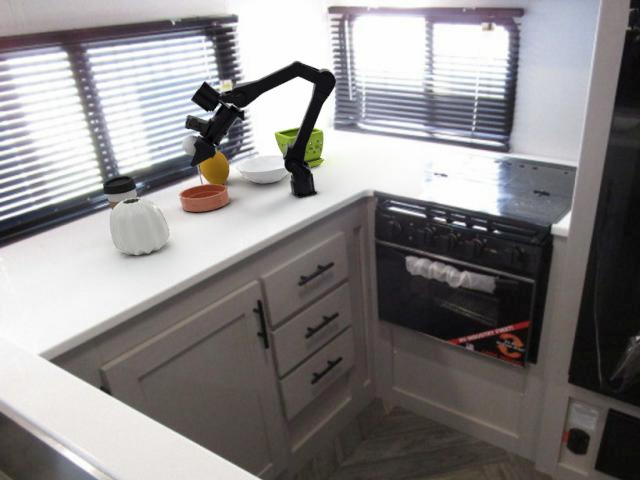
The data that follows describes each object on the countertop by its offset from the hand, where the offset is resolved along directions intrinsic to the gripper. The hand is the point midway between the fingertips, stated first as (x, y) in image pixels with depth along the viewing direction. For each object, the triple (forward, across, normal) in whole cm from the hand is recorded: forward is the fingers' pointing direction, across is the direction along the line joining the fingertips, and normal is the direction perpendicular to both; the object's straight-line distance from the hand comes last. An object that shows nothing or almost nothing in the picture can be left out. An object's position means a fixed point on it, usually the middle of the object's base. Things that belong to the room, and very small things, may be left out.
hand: (192, 163), depth 173 cm
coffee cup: (+22, +16, -3) cm, 27 cm away
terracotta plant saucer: (+9, 0, +10) cm, 13 cm away
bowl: (-5, -18, +24) cm, 30 cm away
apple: (+7, -22, +12) cm, 26 cm away
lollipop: (+4, 0, +6) cm, 7 cm away
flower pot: (-14, -33, +33) cm, 49 cm away
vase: (+18, +31, +1) cm, 35 cm away
